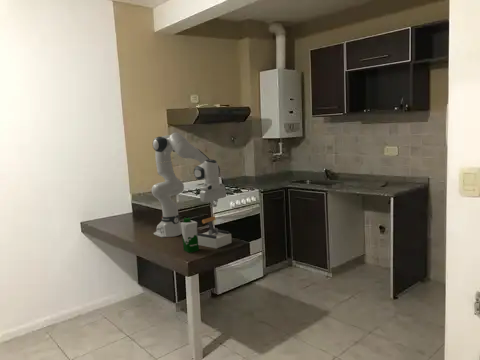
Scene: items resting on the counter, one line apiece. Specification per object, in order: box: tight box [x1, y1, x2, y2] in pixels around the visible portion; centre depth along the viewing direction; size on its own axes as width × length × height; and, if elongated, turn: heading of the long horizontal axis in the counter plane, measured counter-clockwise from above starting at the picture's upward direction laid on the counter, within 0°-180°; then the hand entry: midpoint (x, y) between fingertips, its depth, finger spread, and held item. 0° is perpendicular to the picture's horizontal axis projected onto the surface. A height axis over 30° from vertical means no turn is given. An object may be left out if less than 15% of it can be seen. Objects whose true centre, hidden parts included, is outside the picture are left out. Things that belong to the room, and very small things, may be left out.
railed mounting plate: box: [197, 229, 231, 239], centre depth 258 cm, size 16×13×1 cm
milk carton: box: [180, 217, 200, 254], centre depth 246 cm, size 9×9×20 cm
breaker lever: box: [201, 215, 216, 234], centre depth 259 cm, size 2×10×10 cm, turn 138°
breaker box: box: [198, 227, 233, 250], centre depth 259 cm, size 18×14×10 cm
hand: (214, 206), depth 254 cm, fingers closed
